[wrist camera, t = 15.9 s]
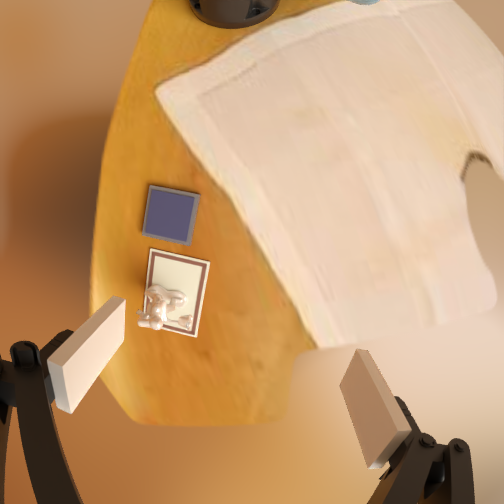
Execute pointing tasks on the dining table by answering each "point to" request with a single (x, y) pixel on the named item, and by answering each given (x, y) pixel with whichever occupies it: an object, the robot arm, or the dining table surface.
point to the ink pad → (170, 214)
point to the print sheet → (179, 285)
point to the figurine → (163, 308)
